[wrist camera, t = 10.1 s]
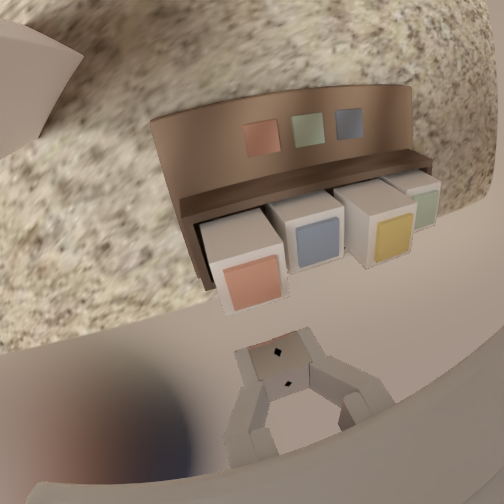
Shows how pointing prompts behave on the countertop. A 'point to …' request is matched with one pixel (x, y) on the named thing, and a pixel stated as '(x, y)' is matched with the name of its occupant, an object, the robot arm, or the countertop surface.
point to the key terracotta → (245, 261)
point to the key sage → (418, 194)
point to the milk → (29, 82)
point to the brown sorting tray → (280, 151)
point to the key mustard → (376, 221)
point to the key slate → (308, 229)
